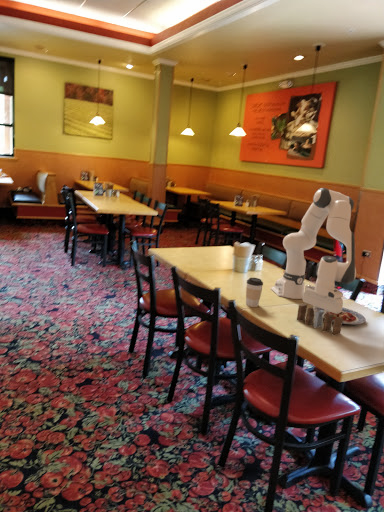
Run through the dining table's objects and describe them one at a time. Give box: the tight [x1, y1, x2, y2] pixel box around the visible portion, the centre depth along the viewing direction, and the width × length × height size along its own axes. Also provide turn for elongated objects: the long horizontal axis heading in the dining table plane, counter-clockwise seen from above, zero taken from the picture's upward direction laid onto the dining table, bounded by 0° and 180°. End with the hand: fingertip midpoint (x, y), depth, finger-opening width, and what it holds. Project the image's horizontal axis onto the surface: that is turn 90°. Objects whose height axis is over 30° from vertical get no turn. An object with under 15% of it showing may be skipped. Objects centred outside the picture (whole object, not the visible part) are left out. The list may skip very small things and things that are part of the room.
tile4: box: [322, 314, 333, 333], centre depth 203 cm, size 2×5×8 cm, turn 131°
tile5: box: [331, 317, 343, 336], centre depth 199 cm, size 2×5×8 cm, turn 131°
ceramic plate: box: [317, 307, 366, 325], centre depth 223 cm, size 26×26×3 cm
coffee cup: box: [245, 277, 264, 308], centre depth 228 cm, size 9×9×15 cm
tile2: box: [304, 306, 315, 325], centre depth 210 cm, size 2×5×8 cm, turn 131°
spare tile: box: [312, 310, 324, 329], centre depth 207 cm, size 2×5×8 cm, turn 131°
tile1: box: [296, 303, 308, 322], centre depth 214 cm, size 2×5×8 cm, turn 131°
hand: (319, 316), depth 206 cm, fingers open, 3 cm apart
